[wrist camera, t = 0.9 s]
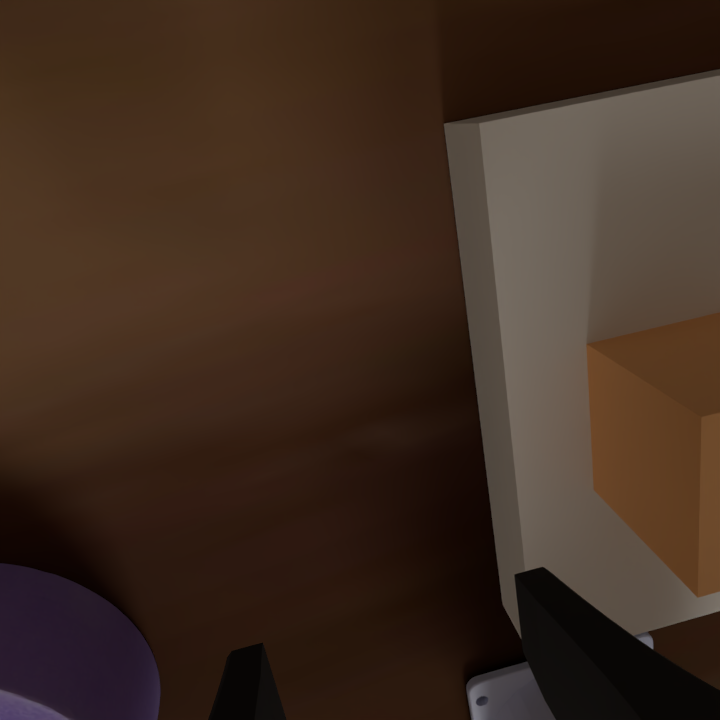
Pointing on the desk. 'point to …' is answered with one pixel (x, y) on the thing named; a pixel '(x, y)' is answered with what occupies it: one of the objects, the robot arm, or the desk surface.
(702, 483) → the orange block
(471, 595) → the desk surface
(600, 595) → the box
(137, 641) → the tape roll
